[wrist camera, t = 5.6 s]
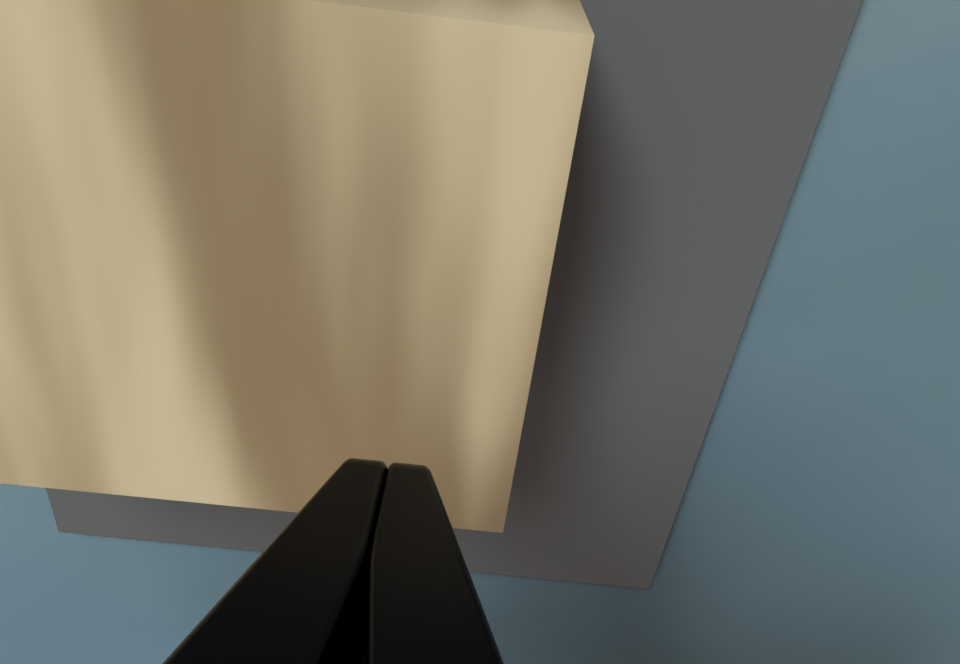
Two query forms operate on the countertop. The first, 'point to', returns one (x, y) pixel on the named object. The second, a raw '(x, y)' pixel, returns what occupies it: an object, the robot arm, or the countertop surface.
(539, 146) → the maple block
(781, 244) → the countertop surface
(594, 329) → the mat
